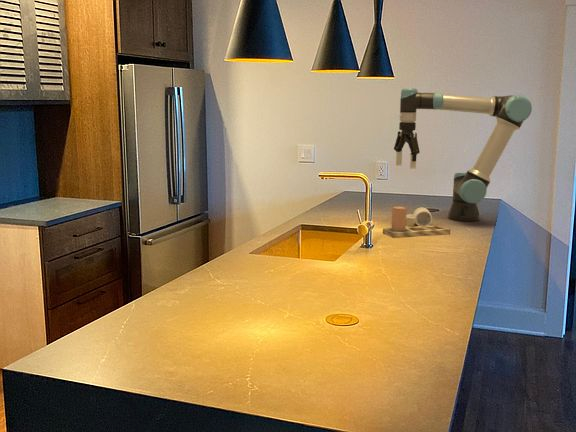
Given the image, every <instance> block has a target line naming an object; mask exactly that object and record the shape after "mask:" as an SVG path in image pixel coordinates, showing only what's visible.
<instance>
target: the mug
mask: <svg viewBox="0 0 576 432" xmlns="http://www.w3.org/2000/svg"><path fill="white" fill-rule="evenodd" d="M406 220H411V221H414V223H415V224H416V225H417V226H432V225H431V224H433V223H432V222H433V216H432V214H431V212H430V210H428V208H425V207H424V206H423V207H422V206H421V207H418V208H416V209H415V210H414V211H413V213H411V214H406Z"/></svg>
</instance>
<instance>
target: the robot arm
mask: <svg viewBox="0 0 576 432" xmlns="http://www.w3.org/2000/svg"><path fill="white" fill-rule="evenodd" d="M400 91H401V92H400V98H399V99H400V101H399V102H400V103H399V105H400V106H399V107H400V108H399V123H398V124H399V131H397V137H396V140H395V142H394V143H395V144H394V146H393V150H394V151H395V166H396V167H397V166H402V162H403V161H402V160H403V148H404V146H405V144H406V143H407V144H408V147H409V149H410V152H411V153H410V154H409V156H410V157H409V159H410V160H409V169H410V170H411V169H417V168H416V167H417V155H418V154H420V147H419V142H418V133H417V132H414V131H416V126H417V123H416V121H417V110H440V111H450V112H463V113H475V114H484V115H489V116H490V117H494V118H495V117H496V125H495V127H494V128H493V130H492V132H491V134H490V136H489V137H488V139H487V140H486V143H485V144H484V147H483V149H482V150H481V152H480V154H479V155H478V157H477V159H476V161H475V164H474V165H473V167H472V168H470V169H468V170H467V171H466V172H455V173H454V176H453V187H452V189H453V190H452V202H451V206H450V208H449V211H448V214H447V218H448V219H449V220H453V221H459V222H460V221H461V222H477V221H479V220H480V212H479V208H478V203H480V202H482V201H483V200H484V199H485V198H486V196H487V191H488V189H487V188H488V187H489V185H490V183H491V178H490V176H491V174H492V172H493V171H494V169H495V167H496V165H497V163H498V162H499V159H501V156H502V154H503V153H504V151H505V149H506V147H507V145H508V143H509V142H510V141H511V140H510V139H511V138H512V136H513V134H514V133H515V131H517V130H520V128H521V127H522V125H523V124H524V121H526V120H527V119H529V117H530V115H531V114H532V109H533V108H532V107H533V106H532V103H531V101H530V100H529V98H527V97H526V96H523V95H521V94H515V95H504V96H503V95H502V96H501V95H499V96H498V95H497V96H496V95H495V96H492V97H484V96H483V97H482V96H480V97H479V96H472V95H471V96H470V95H469V96H468V95H458V94H457V95H456V94H444V93H442V92H419V91H418V89H417V87H416V88H409V87H404V88H402V89H401V90H400Z"/></svg>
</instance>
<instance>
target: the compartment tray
mask: <svg viewBox="0 0 576 432" xmlns="http://www.w3.org/2000/svg"><path fill="white" fill-rule="evenodd" d="M382 234H385V235H387V236H388V237H391V238H394V239H395V238H409V237H410V238H412V237H425V236H440V235H451V229H449V228H447V227H445V226H442V225H439V224H436V225H430V226H418V225H417V226H406V231H393V230H392V227H390V228H388V227H387V228H382Z"/></svg>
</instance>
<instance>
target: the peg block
mask: <svg viewBox="0 0 576 432" xmlns="http://www.w3.org/2000/svg"><path fill="white" fill-rule="evenodd" d="M391 209H392V213H391V228H392V230H393V231H406V227H407V219H406V215H407V209H408V208H406V207H403V206H392V208H391Z"/></svg>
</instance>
